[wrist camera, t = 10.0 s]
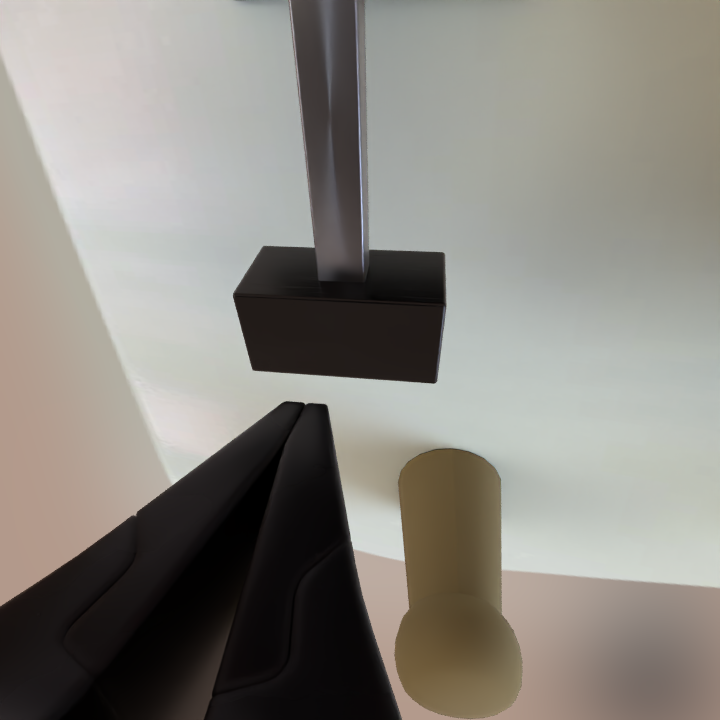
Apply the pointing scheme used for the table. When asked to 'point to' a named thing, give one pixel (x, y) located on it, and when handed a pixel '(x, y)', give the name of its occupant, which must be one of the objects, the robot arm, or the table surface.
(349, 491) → the table surface
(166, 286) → the table surface
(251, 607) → the robot arm
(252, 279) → the lever
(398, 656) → the cork
